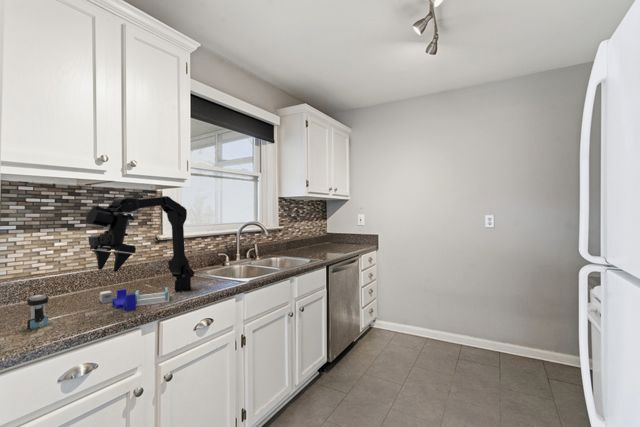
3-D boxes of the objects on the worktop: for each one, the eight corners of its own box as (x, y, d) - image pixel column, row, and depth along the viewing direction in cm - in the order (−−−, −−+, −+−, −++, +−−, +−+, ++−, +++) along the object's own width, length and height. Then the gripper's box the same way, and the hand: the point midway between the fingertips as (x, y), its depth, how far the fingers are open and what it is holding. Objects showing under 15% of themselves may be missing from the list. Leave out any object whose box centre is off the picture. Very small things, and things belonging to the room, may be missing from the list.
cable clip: (112, 306, 123) (112, 291, 123) (125, 303, 126) (125, 288, 126) (122, 312, 115) (122, 296, 115) (135, 309, 119) (135, 294, 118)
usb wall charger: (101, 303, 126) (101, 294, 126) (98, 300, 130) (98, 291, 130) (113, 301, 128) (113, 292, 128) (109, 298, 133) (109, 289, 133)
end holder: (169, 296, 136) (169, 286, 136) (169, 302, 127) (169, 292, 127) (135, 299, 131) (135, 290, 131) (132, 306, 122) (132, 296, 122)
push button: (47, 321, 106) (47, 292, 106) (57, 323, 104) (57, 293, 104) (23, 328, 100) (22, 297, 100) (33, 330, 98) (32, 299, 98)
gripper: (80, 224, 115) (69, 267, 112) (111, 225, 108) (100, 271, 104) (110, 230, 125) (100, 269, 122) (141, 231, 118) (131, 273, 114)
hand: (107, 270), depth 115 cm, fingers open, 9 cm apart
